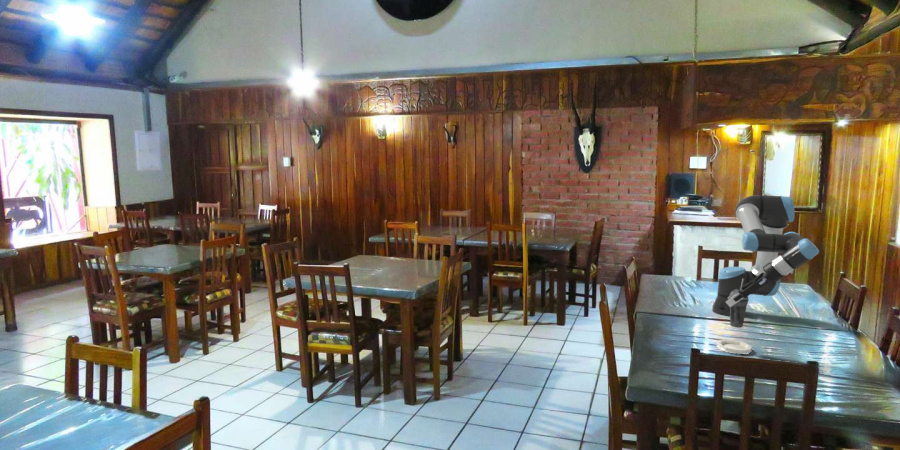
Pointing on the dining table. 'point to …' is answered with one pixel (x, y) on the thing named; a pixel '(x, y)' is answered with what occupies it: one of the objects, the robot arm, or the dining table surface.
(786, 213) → the robot arm
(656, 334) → the dining table surface
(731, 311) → the beverage cup
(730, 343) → the plate
